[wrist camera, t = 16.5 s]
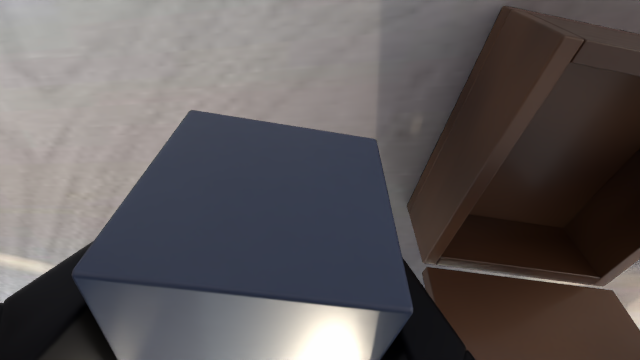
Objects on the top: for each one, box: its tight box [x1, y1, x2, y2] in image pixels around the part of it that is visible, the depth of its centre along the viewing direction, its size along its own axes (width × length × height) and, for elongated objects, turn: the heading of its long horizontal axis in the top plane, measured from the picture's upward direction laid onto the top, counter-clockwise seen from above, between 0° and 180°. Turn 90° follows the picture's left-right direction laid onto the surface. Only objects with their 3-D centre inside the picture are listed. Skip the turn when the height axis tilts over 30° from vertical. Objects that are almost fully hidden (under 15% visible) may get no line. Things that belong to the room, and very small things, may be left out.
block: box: [72, 110, 413, 360], centre depth 7 cm, size 4×4×4 cm
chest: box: [407, 6, 640, 286], centre depth 17 cm, size 13×12×5 cm
